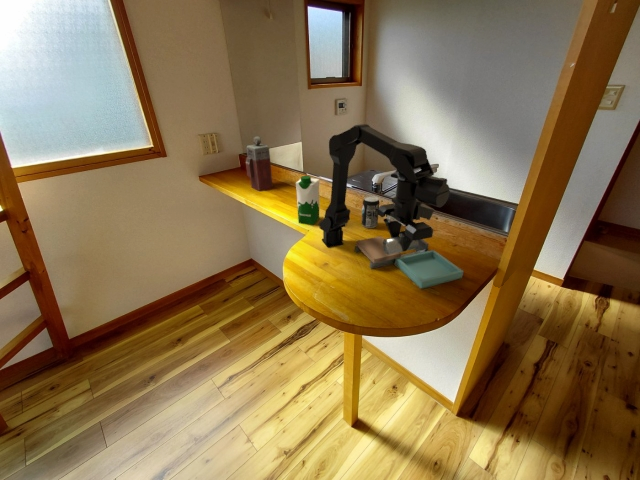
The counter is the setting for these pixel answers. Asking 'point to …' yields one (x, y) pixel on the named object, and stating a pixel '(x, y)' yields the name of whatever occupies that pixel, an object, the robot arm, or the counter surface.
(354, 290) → the counter surface
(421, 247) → the track
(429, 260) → the tray
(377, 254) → the board
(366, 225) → the beverage can
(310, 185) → the milk carton
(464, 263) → the counter surface
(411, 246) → the roller
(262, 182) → the maroon lidded pitcher
